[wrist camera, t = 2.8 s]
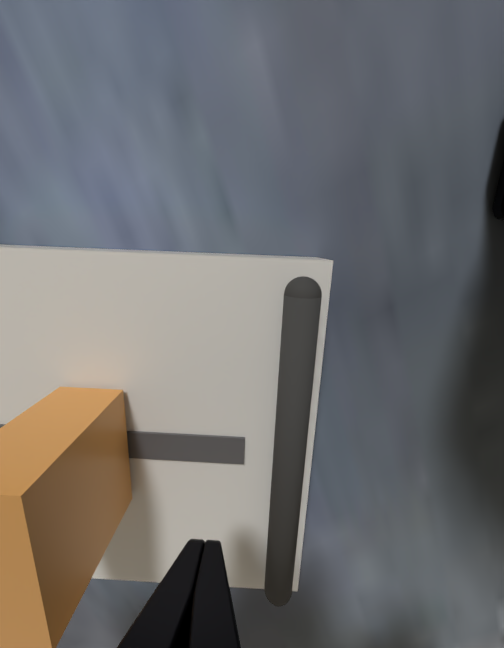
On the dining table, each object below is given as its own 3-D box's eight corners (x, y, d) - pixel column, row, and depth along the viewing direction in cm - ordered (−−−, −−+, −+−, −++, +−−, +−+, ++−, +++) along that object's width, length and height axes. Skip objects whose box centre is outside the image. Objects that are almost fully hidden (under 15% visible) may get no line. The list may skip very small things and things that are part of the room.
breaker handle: (123, 389, 11) (20, 496, 6) (132, 498, 12) (52, 653, 8) (60, 386, 11) (-89, 489, 6) (75, 495, 12) (-38, 646, 8)
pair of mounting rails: (319, 275, 10) (327, 279, 9) (289, 582, 13) (292, 614, 12) (-150, 255, 10) (-203, 257, 9) (-55, 561, 14) (-85, 590, 13)
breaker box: (316, 257, 13) (333, 260, 10) (291, 530, 16) (297, 593, 13) (-70, 241, 13) (-170, 240, 10) (-6, 512, 17) (-63, 570, 14)
